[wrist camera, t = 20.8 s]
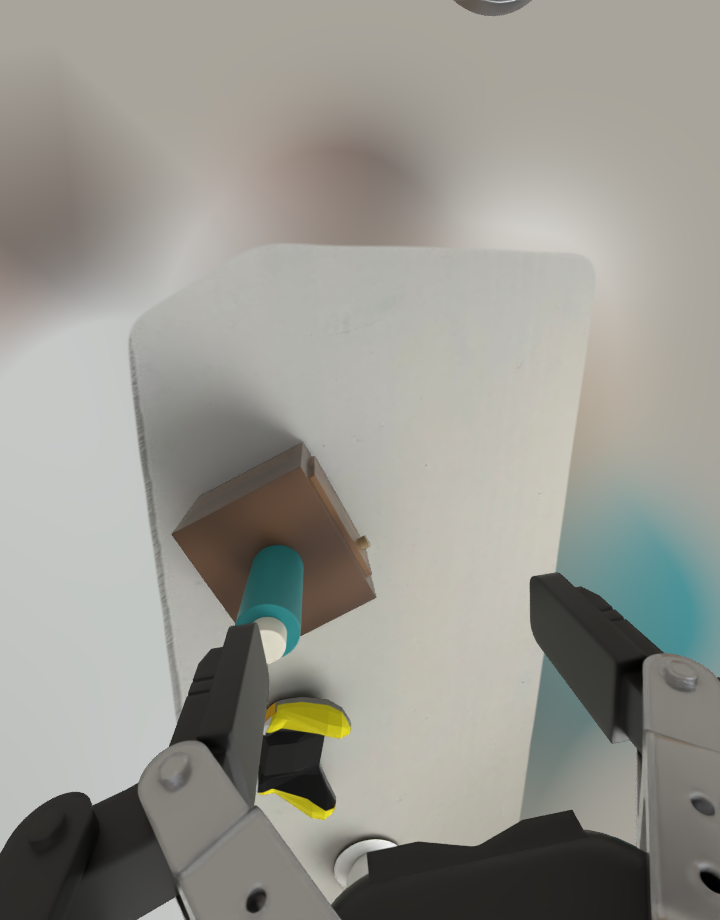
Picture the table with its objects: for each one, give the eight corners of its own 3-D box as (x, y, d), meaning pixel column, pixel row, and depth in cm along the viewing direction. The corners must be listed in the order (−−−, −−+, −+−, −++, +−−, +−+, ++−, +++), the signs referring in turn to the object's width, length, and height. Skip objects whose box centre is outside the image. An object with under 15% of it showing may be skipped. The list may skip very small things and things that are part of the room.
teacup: (342, 833, 58) (345, 874, 54) (412, 837, 60) (420, 878, 55) (327, 885, 60) (328, 929, 56) (394, 888, 62) (400, 931, 57)
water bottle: (241, 559, 36) (215, 637, 27) (287, 535, 36) (278, 605, 27) (268, 598, 38) (252, 686, 28) (312, 576, 37) (312, 656, 28)
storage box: (199, 496, 44) (170, 534, 35) (314, 436, 43) (314, 459, 35) (269, 600, 48) (259, 657, 39) (375, 545, 47) (389, 591, 39)
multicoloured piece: (350, 684, 52) (266, 679, 50) (355, 723, 46) (261, 719, 45) (331, 780, 55) (253, 778, 54) (333, 827, 50) (246, 825, 49)
